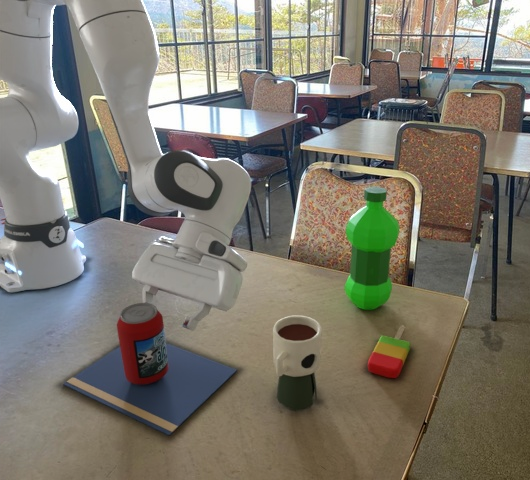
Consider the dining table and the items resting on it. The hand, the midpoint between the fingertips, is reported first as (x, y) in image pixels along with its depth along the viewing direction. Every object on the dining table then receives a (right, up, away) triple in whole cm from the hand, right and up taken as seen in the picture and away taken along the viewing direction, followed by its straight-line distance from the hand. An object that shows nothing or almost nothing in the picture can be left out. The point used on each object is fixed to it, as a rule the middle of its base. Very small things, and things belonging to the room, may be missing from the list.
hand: (165, 321), depth 80 cm
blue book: (-2, -9, -2) cm, 9 cm away
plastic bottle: (+36, 0, +22) cm, 42 cm away
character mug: (+22, -11, -5) cm, 25 cm away
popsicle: (+39, -7, +6) cm, 40 cm away
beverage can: (-2, -9, -1) cm, 9 cm away
